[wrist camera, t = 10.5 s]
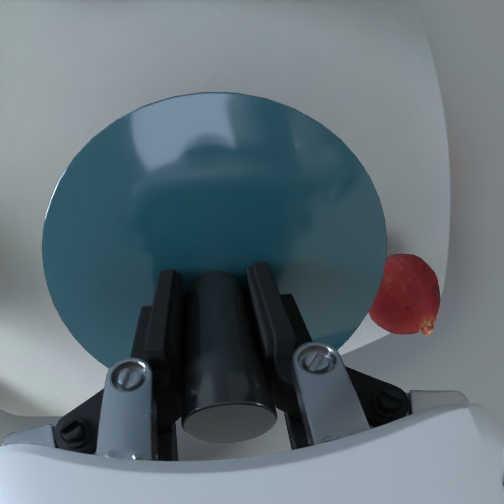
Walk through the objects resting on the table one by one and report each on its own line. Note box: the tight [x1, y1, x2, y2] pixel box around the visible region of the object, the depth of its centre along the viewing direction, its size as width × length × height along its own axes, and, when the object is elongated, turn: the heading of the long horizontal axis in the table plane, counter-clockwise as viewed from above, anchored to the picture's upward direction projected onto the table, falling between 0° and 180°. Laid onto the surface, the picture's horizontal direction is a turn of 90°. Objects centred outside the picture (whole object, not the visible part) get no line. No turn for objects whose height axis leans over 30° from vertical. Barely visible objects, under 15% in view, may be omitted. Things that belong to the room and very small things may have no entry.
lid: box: [42, 92, 387, 443], centre depth 9 cm, size 15×15×7 cm
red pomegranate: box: [368, 254, 440, 336], centre depth 18 cm, size 6×6×8 cm
